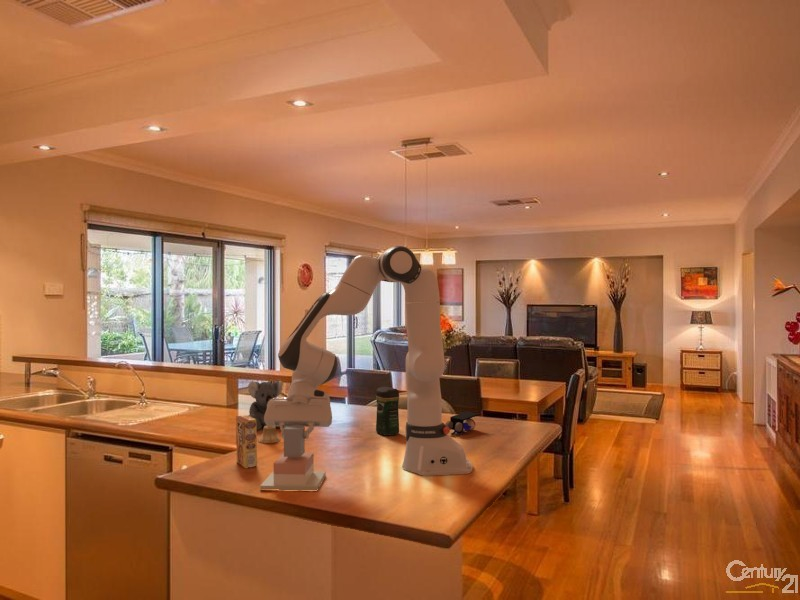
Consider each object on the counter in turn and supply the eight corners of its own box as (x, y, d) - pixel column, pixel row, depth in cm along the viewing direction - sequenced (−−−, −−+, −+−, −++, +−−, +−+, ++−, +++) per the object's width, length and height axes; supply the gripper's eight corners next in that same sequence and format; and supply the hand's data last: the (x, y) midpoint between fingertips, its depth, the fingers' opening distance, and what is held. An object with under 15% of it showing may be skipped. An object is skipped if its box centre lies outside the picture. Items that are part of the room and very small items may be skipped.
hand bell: (273, 437, 223) (273, 396, 223) (284, 440, 217) (285, 398, 217) (254, 440, 217) (254, 398, 217) (265, 444, 212) (265, 401, 212)
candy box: (257, 466, 184) (257, 419, 184) (244, 468, 182) (244, 420, 182) (247, 460, 191) (247, 414, 191) (235, 462, 189) (235, 416, 189)
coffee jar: (402, 434, 228) (402, 387, 228) (385, 437, 223) (385, 389, 223) (389, 429, 236) (389, 384, 235) (372, 432, 231) (372, 386, 231)
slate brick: (304, 452, 170) (304, 425, 170) (300, 456, 165) (300, 429, 165) (287, 452, 170) (288, 425, 170) (283, 456, 165) (283, 429, 165)
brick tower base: (325, 476, 174) (325, 451, 174) (316, 491, 160) (316, 465, 160) (273, 475, 175) (273, 451, 175) (260, 490, 161) (260, 464, 161)
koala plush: (247, 432, 231) (247, 384, 231) (240, 423, 248) (240, 378, 247) (290, 428, 238) (290, 381, 238) (280, 420, 255) (280, 376, 255)
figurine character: (459, 441, 223) (479, 429, 235) (458, 422, 222) (478, 411, 234) (445, 438, 228) (465, 427, 239) (443, 419, 227) (464, 409, 238)
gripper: (266, 392, 176) (257, 431, 166) (332, 392, 175) (327, 432, 165) (270, 403, 180) (261, 442, 171) (335, 404, 179) (330, 443, 170)
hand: (294, 437), depth 168 cm, fingers closed on slate brick, 5 cm apart
